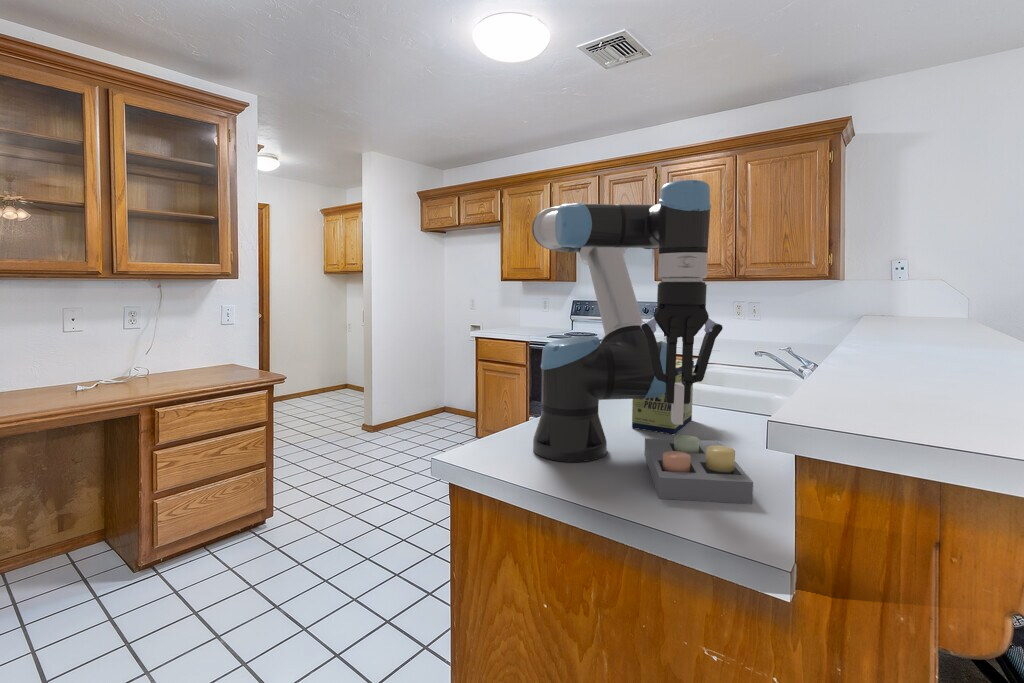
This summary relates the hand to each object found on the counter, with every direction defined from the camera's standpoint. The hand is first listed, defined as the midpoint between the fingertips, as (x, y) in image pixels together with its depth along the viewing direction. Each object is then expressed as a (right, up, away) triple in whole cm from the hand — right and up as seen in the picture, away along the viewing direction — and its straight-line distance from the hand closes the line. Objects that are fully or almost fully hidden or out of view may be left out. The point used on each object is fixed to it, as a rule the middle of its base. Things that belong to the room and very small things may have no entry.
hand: (676, 422), depth 83 cm
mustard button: (+7, -8, -1) cm, 10 cm away
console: (+4, -11, +5) cm, 13 cm away
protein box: (+10, -7, +39) cm, 41 cm away
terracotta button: (0, -9, +1) cm, 9 cm away
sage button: (+5, -8, +10) cm, 14 cm away
